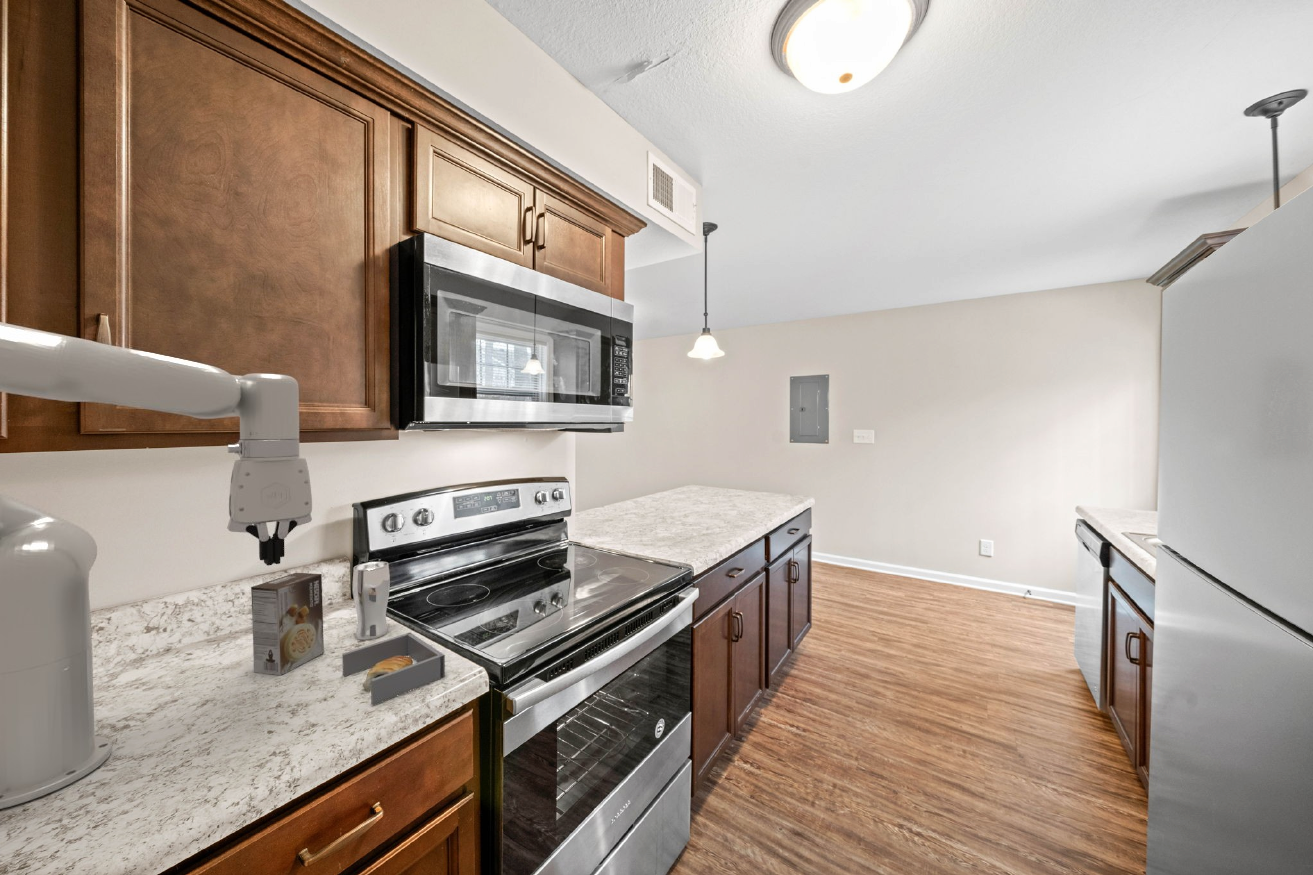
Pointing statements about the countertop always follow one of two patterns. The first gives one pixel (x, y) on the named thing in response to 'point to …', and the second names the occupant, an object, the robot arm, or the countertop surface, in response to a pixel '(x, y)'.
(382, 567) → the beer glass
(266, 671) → the coffee box
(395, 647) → the box
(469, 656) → the countertop surface
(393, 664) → the pastry
